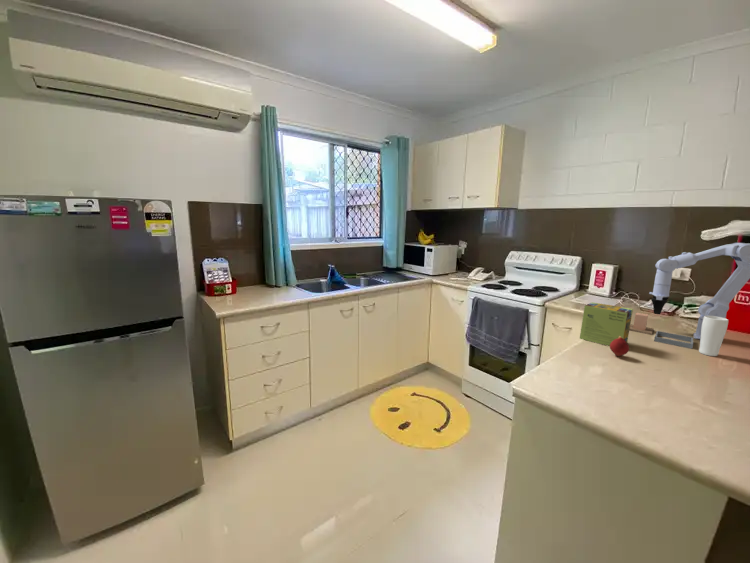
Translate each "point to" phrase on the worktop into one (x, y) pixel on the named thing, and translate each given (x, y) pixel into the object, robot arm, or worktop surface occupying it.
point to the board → (646, 331)
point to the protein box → (605, 323)
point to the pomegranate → (619, 346)
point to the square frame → (673, 342)
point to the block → (640, 321)
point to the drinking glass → (712, 334)
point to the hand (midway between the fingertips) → (657, 312)
